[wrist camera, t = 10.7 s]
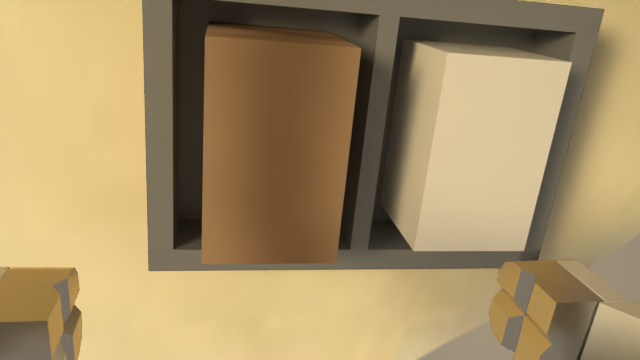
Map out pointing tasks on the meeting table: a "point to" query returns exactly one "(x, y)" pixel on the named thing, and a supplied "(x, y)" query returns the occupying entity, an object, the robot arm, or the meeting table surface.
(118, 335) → the meeting table surface
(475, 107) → the off-white block
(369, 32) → the holder
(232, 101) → the walnut block
